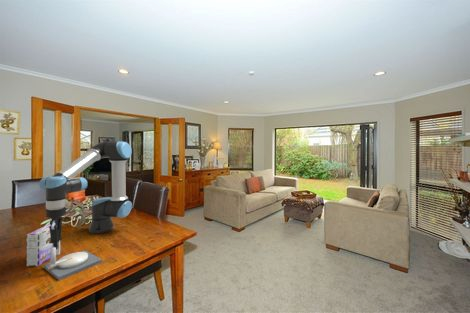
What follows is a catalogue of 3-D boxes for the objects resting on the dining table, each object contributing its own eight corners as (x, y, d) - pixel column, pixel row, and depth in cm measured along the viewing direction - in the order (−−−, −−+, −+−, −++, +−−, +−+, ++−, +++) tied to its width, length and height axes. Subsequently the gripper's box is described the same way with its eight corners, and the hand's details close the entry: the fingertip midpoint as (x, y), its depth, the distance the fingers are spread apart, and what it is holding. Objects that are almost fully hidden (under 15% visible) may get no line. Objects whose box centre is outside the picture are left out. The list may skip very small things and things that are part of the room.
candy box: (48, 252, 115) (48, 223, 115) (59, 252, 116) (59, 223, 115) (25, 266, 102) (25, 233, 101) (38, 266, 102) (38, 233, 102)
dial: (54, 274, 93) (54, 252, 93) (46, 265, 100) (46, 245, 100) (91, 260, 106) (92, 241, 105) (82, 253, 112) (83, 235, 112)
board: (41, 267, 101) (41, 264, 101) (84, 252, 117) (84, 249, 117) (57, 281, 91) (57, 277, 91) (101, 262, 107) (101, 258, 107)
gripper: (62, 210, 98) (62, 258, 99) (68, 203, 109) (68, 247, 110) (41, 212, 94) (42, 262, 95) (50, 205, 105) (50, 250, 106)
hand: (56, 254), depth 103 cm, fingers closed
